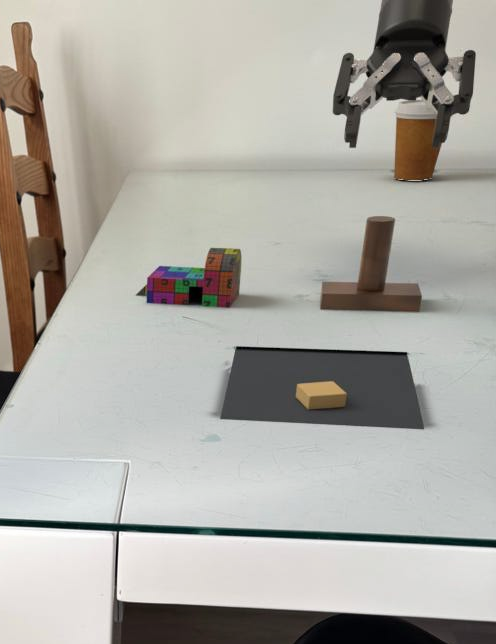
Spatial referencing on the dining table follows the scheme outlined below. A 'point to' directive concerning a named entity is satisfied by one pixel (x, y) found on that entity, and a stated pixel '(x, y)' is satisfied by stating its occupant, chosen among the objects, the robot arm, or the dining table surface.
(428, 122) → the disposable coffee cup
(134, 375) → the dining table surface
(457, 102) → the robot arm
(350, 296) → the scrub brush
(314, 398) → the tan flat square block
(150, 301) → the block
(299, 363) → the scrub mat
